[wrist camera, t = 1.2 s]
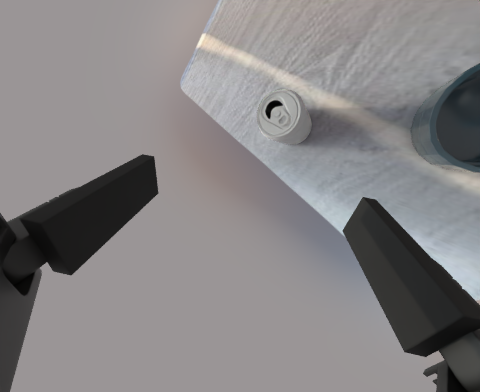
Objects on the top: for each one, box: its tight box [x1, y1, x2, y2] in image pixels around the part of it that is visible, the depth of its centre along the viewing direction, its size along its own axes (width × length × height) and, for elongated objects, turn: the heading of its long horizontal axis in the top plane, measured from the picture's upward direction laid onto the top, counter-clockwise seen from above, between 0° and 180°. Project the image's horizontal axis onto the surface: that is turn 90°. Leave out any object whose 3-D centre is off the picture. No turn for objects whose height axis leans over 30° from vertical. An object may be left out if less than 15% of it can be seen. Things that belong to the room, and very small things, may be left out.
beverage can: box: [257, 89, 312, 145], centre depth 28 cm, size 6×6×12 cm
